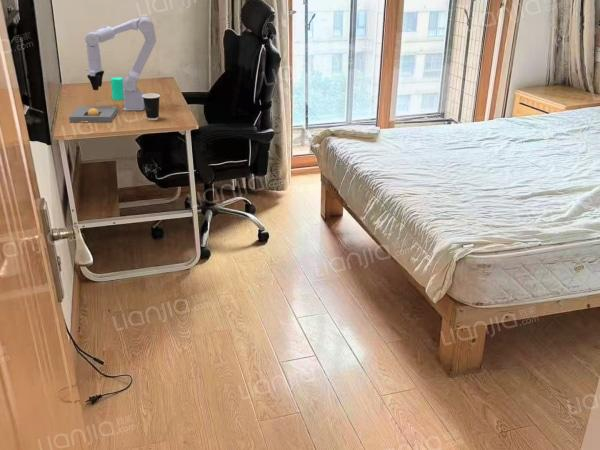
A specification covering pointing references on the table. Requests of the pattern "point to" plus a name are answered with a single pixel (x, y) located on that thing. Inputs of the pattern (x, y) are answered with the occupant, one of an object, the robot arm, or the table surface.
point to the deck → (104, 116)
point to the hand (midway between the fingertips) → (97, 88)
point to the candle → (117, 88)
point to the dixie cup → (151, 105)
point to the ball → (93, 112)
